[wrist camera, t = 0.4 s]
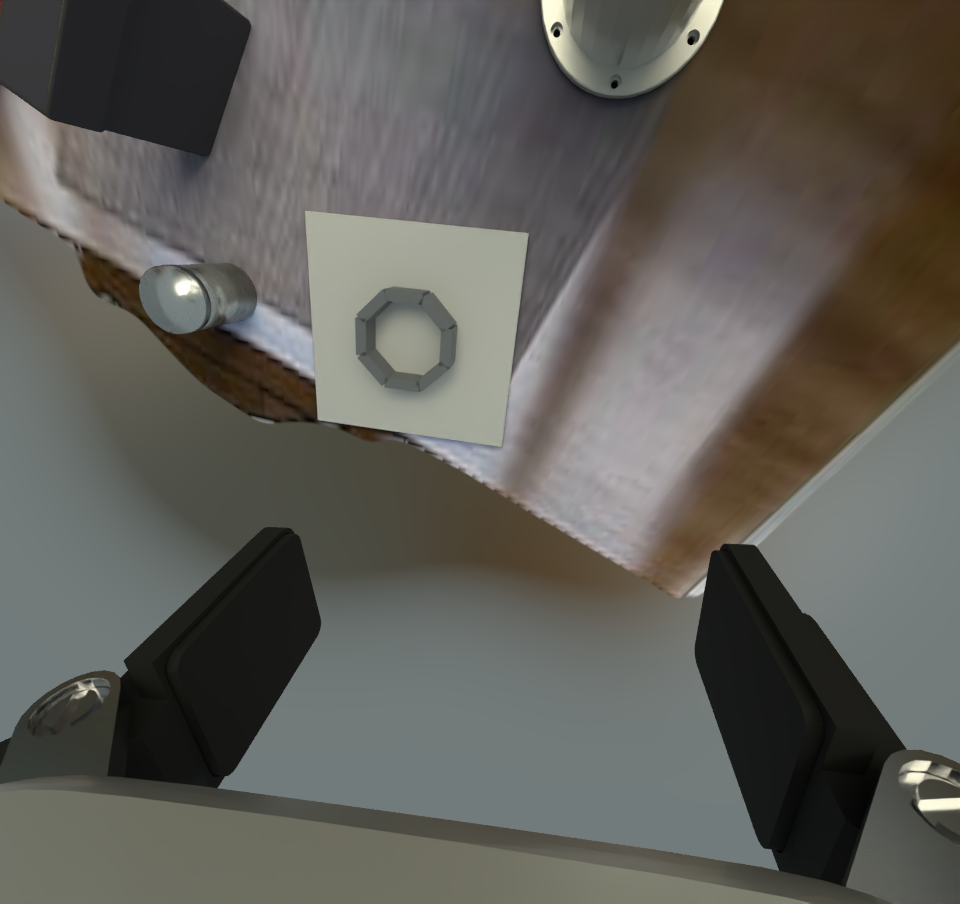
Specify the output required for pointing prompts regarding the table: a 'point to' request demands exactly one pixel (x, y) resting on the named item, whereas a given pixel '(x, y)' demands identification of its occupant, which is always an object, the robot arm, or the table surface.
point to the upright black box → (125, 64)
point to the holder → (414, 324)
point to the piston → (196, 296)
